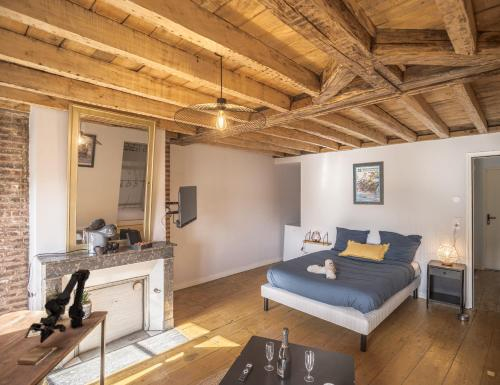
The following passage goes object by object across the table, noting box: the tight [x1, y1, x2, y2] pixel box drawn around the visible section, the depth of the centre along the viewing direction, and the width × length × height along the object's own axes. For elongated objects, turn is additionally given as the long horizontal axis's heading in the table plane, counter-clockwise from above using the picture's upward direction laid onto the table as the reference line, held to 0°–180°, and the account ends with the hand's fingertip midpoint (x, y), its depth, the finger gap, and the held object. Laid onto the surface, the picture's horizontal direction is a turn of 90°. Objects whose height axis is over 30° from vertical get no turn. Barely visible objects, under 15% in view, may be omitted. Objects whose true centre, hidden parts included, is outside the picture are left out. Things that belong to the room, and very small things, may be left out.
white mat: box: [34, 347, 57, 366], centre depth 163 cm, size 17×11×1 cm, turn 1°
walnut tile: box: [16, 346, 53, 366], centre depth 162 cm, size 2×10×14 cm
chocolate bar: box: [24, 323, 44, 339], centre depth 192 cm, size 9×1×18 cm
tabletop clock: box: [45, 284, 66, 321], centre depth 209 cm, size 14×9×25 cm, turn 49°
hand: (41, 342), depth 165 cm, fingers closed
